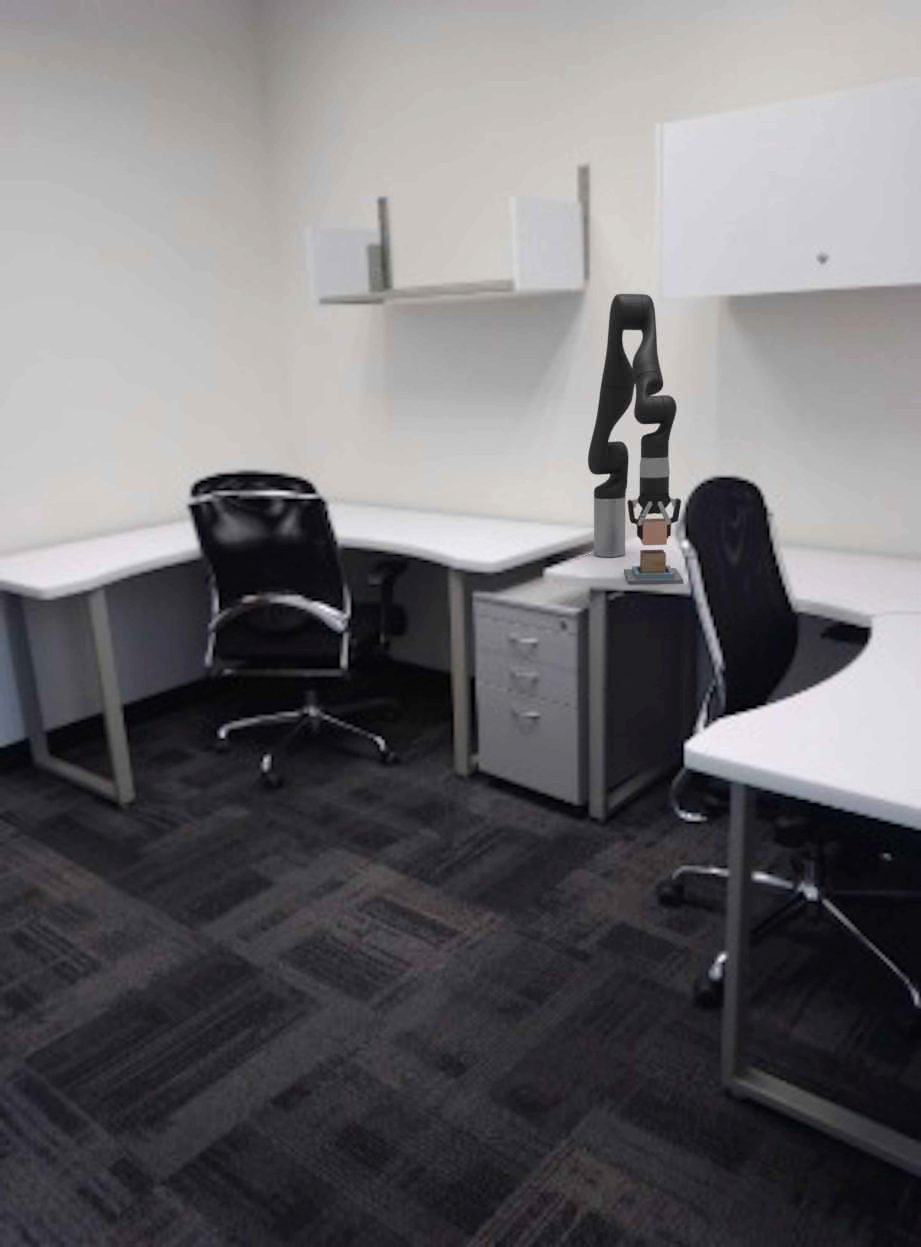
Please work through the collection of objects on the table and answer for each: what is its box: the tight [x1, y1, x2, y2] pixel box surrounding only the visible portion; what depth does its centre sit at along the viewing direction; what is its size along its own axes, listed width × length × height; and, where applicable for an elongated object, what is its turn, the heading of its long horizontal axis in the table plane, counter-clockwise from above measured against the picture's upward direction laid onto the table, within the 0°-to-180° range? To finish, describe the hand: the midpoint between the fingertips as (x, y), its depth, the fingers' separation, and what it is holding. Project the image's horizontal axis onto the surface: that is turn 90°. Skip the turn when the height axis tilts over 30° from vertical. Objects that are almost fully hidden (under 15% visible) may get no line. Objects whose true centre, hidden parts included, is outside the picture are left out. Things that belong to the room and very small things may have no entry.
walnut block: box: [639, 549, 667, 573], centre depth 258 cm, size 6×6×6 cm
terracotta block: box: [640, 517, 668, 546], centre depth 256 cm, size 6×6×6 cm
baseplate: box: [623, 564, 684, 585], centre depth 259 cm, size 14×14×2 cm
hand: (653, 538), depth 256 cm, fingers closed on terracotta block, 6 cm apart
